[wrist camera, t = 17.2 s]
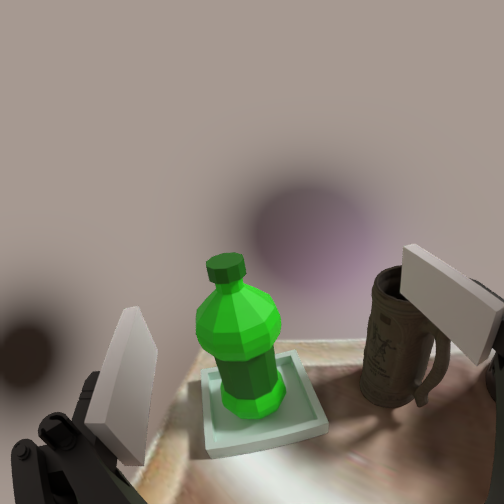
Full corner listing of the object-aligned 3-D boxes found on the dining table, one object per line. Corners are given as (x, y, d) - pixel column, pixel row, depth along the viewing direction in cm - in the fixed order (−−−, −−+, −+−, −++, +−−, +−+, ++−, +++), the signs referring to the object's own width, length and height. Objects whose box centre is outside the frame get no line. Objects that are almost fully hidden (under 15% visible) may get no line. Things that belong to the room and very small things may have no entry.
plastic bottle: (298, 388, 43) (284, 243, 34) (272, 439, 35) (242, 289, 25) (243, 376, 48) (213, 241, 39) (212, 419, 39) (159, 278, 30)
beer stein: (344, 376, 45) (355, 277, 36) (390, 350, 48) (408, 254, 39) (399, 438, 32) (444, 343, 23) (445, 401, 35) (490, 302, 26)
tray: (296, 361, 51) (295, 349, 50) (327, 432, 35) (328, 422, 34) (204, 380, 49) (200, 369, 48) (211, 459, 33) (205, 449, 32)
